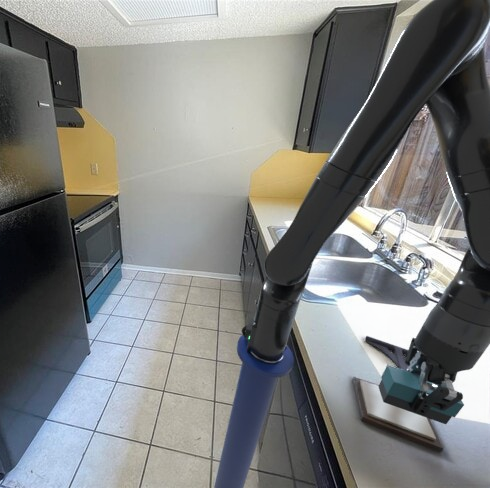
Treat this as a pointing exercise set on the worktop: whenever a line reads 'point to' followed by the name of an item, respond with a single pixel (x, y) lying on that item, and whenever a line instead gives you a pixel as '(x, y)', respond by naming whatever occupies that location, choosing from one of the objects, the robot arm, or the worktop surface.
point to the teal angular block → (410, 393)
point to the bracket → (395, 356)
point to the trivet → (393, 416)
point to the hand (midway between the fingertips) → (412, 399)
